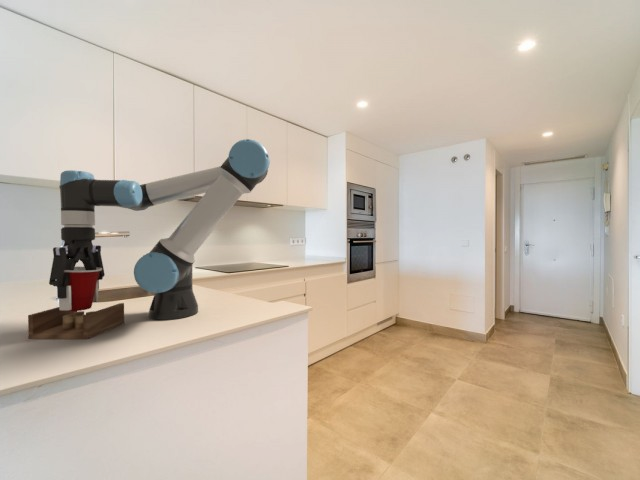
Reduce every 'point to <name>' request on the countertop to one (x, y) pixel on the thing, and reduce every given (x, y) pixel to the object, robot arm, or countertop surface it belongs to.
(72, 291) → the plastic cup
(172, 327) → the countertop surface
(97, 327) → the peg board
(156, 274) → the robot arm
